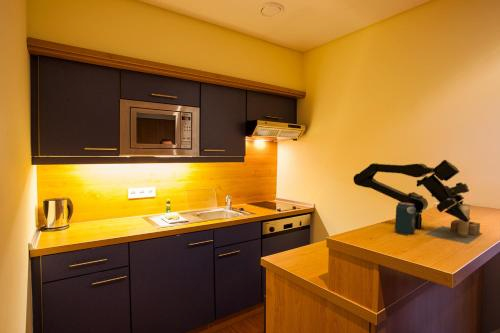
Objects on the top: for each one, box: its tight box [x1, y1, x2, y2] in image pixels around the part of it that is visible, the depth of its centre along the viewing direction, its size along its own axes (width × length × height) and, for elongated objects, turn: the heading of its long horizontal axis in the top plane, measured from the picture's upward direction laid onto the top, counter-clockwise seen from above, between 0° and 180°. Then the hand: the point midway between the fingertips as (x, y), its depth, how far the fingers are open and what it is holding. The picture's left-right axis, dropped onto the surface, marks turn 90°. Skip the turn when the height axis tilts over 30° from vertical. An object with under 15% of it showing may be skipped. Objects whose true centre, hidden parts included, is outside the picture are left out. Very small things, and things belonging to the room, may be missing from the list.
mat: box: [424, 225, 483, 245], centre depth 114 cm, size 22×14×1 cm, turn 130°
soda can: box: [394, 201, 416, 236], centre depth 114 cm, size 7×7×12 cm
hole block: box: [450, 218, 481, 236], centre depth 117 cm, size 8×8×4 cm
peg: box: [458, 203, 471, 238], centre depth 110 cm, size 3×3×12 cm
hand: (468, 220), depth 109 cm, fingers closed on peg, 3 cm apart
